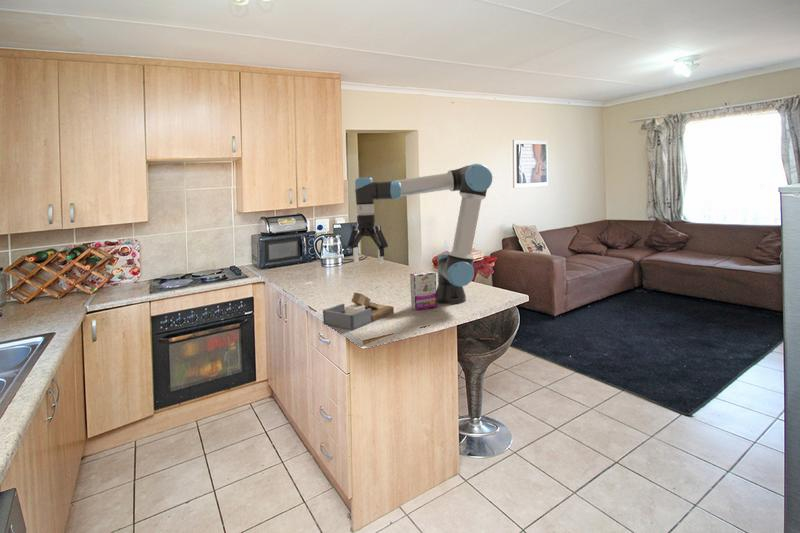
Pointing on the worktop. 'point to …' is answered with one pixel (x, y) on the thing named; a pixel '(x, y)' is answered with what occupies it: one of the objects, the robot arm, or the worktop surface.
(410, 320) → the worktop surface
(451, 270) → the robot arm
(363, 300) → the scraper
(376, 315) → the board
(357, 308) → the tile
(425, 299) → the candy bar box
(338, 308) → the tray
